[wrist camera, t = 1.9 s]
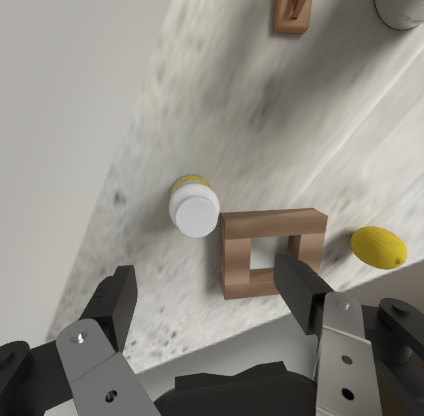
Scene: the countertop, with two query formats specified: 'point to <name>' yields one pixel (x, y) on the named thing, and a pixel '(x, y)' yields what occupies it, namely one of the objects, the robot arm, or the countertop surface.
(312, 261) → the block
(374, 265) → the lemon
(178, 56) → the countertop surface
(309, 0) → the brown figurine
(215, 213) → the supplement bottle
